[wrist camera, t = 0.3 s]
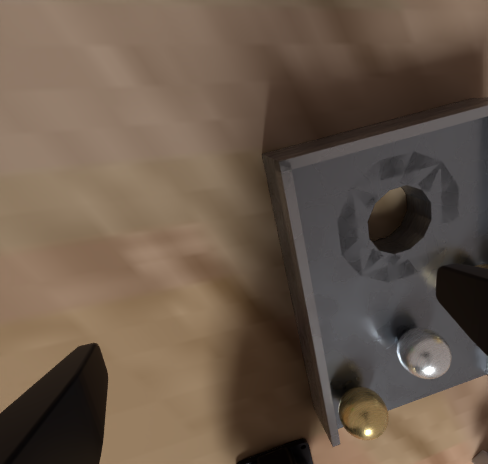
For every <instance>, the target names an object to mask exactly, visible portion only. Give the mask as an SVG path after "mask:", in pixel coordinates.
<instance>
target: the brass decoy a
mask: <svg viewBox="0 0 488 464" xmlns="http://www.w3.org/2000/svg"><path fill="white" fill-rule="evenodd" d="M338 413H339V418H340V421H341V423H342V425H343V426H344V428H345V429H346V430H347V431H348V432H349V433H350V434H351V435H353V436H354V437H356V438H358V439H362V440H373V439H375V438H378V437H379V436H380V435H382V434H383V432H384V431H385V429H386V427H387V424H388V410H387V407H386V405H385V403H384V401H383V400H382V398H381V397H380V396H379V395H378V394H377V393H376V392H374V391H373V390H371V389H369V388H366V387H354V388H351V389H349V390H347V391H346V392H345V393H344V394H343V395H342V397H341V399H340V401H339V406H338Z"/></svg>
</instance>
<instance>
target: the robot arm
mask: <svg viewBox="0 0 488 464" xmlns="http://www.w3.org/2000/svg"><path fill="white" fill-rule="evenodd" d="M436 298H437V300H438V302H439V303H440V304H441V305H442V307H443V308H444V309H445V310H446V311H447V312H448V313H449V315H450V316H451V317H452V318H453V319H454V320H455V321H456V323H457V324H458V325H459V326H460V327H461V328H462V330H463V331H464V332H465V333H466V334H467V335H468V336H469V338H470V339H471V340H472V341H473V342H474V343H475V344H476V345H477V346H478V347H479V348H480V349H481V350H482V351H483V352H484V353H485V354H486V355H487V356H488V268H482V267H475V266H469V265H462V264H456V263H453V264H448V265H443V266H440V267H439V268H438V270H437V277H436ZM107 389H108V373H107V369H106V366H105V362H104V359H103V356H102V353H101V350H100V347H99V346H98V344H96V343H91V344H87V345H82V346H79V347H77V348H76V349H75V350H74V351H72V352H71V353H70V354H69V355H68V356H67V357H65V358H64V359H63V360H62V361H61V362H60V363H58V364H57V365H56V366H55V367H54V368H53V369H51V370H50V371H49V372H48V373H47V374H46V375H44V376H43V377H42V378H41V379H40V380H39V381H37V382H36V383H35V384H34V385H33V386H32V387H31V388H29V389H28V390H27V391H26V392H25V393H24V394H22V395H21V396H20V397H19V398H18V399H17V400H15V401H14V402H13V403H12V404H11V405H10V406H8V407H7V408H6V409H5V410H4V411H3V412H1V413H0V464H99V462H100V457H101V451H102V445H103V437H104V425H105V413H106V401H107ZM237 464H313V462H312V458H311V453H310V449H309V445H308V442H307V440H306V439H300V440H297V441H294V442H292V443H289V444H286V445H283V446H281V447H278V448H275V449H272V450H270V451H267V452H264V453H262V454H259V455H256V456H253V457H251V458H248V459H245V460H242V461H240V462H238V463H237Z"/></svg>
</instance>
